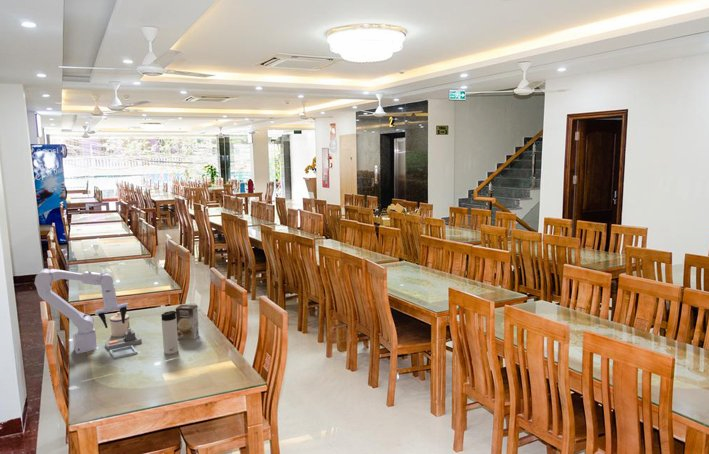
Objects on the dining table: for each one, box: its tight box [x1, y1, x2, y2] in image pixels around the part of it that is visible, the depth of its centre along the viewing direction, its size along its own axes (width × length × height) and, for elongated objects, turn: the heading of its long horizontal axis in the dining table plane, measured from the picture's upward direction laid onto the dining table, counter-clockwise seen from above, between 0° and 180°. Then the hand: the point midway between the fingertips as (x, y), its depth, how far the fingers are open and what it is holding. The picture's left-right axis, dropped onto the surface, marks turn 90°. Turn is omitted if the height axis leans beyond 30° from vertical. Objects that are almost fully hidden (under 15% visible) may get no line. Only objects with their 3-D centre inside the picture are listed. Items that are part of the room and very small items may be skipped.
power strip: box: [104, 334, 143, 351], centre depth 243 cm, size 15×7×3 cm, turn 126°
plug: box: [124, 327, 136, 342], centre depth 245 cm, size 4×4×8 cm
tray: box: [108, 345, 139, 360], centre depth 233 cm, size 10×10×2 cm
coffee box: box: [175, 304, 200, 340], centre depth 252 cm, size 9×6×16 cm
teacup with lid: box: [109, 311, 131, 338], centre depth 260 cm, size 12×9×12 cm
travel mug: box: [161, 310, 179, 356], centre depth 232 cm, size 6×7×20 cm
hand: (114, 325), depth 243 cm, fingers open, 7 cm apart
